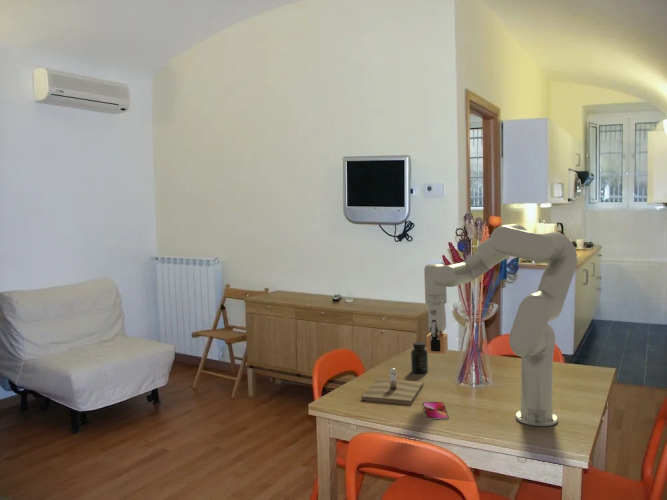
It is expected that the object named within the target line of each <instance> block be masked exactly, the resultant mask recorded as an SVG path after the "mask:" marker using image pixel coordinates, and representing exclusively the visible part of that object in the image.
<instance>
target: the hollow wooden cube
mask: <svg viewBox="0 0 667 500" xmlns="http://www.w3.org/2000/svg"><path fill="white" fill-rule="evenodd" d="M436 334H437V333H436ZM425 338H426V339H425V340H426V343H425V345H426V350H427V353H428V354H440V355H441V354H443V355H446V353H447V352H448V350H449V349H448V346H449V345H448V343H449V342H448V333H447V332H443V333H439V340H440V351H431V332H429V333H427V335H426V336H425Z"/></svg>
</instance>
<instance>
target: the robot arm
mask: <svg viewBox="0 0 667 500" xmlns="http://www.w3.org/2000/svg"><path fill="white" fill-rule="evenodd" d="M510 256H511V257H515V258H519V259H523V260H526V261H531V262H536V263H543V262H547V265H546V267H545V268H544V271H543V272H542V275H541V277H540V282H539V283H538V286H537V289H536V291H534V292H533V293H530V294H528V295H526V296H525V297H524V298H523V299H522V300H521V302H520V304H519V306H518V308H517V311H516V313H515V318H514V321H513V323H512V327H511V329H510V333H509V338H508V344H509V346H510V347H509V348H510V349H511V351H512V353H514V354H515V355H516V356H518V357H521V358H520V359H521V361H520V410H518V411H517V412H516V414H515V419H516V420H517V421H518V422H520V423H522V424H525V425H528V426H532V427H550V426H553V425H555V424H557V423H558V420H559V419H558V418H559V417H558V416H557V415H556V414H555V413H553V390H554V389H553V387H554V386H553V381H554V380H553V373H554V371H553V369H554V367H553V365H554V364H553V363H554V352H555V345H556V335H555V331H554V329H553V328H552V326H551V325H550V324H549V322H551V321H553V320H555V319H557V318H558V317H559V316H560V315H561V313H562V311H563V308H564V305H565V302H566V298H567V296H568V293H569V290H570V286H571V283H572V280H573V278H574V275H575V272H576V268H577V264H578V255H577V249H576V247H575V245H574V244H573V242H572V240H570V238H569V237H567V236H566V235H565V234H563V233H561V232H558V231H546V232H540V233H539V232H538V233H537V232H532V231H528V230H527V229H526V228H525V227H524V226H523V225H520V224H517V223H511V224H504V225H503V224H502V225H500V226H498V227H496V228H495V229H494V230H493V231H492V232H491V235H490V237H488V238H487V239H486V240H484V241H483V242H481V243H479V244H478V245H477V246H476V252H475V253H474V254H473V255H470V257H468V258H466V259H465V260H462V262H459V263H458V262H457V263H452V264H448V265H444V264H443V263H442V264H441V263H430V264H426V265H425V266H424V269H423V271H424V273H423V274H424V275H423V277H424V299H425V300H424V302H425V304H426V305H428V306H427V308H428V309H427V314H428V315H427V319H428V322H427V323H428V332H429V333H431V351H440V340H439V333H444V331H445V330H446V328H447V317H446V315H447V314H446V306H445V305H446V304H447V303H448V301H447V295H448V293H447V288H452V287H453V288H454V287H457V286H461V285H465V284H469V283H470V282H472V281H474V280H476V279H478V278H479V277H481V276H482V275H484V274H485V273H487V272H489V270H491V269H492V268H493V267H494V266H495V265H496V266H497V264H499V263H501V262H502V261H504V260H506V259H507V258H509V257H510ZM436 333H437V334H436Z"/></svg>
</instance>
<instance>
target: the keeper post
mask: <svg viewBox="0 0 667 500" xmlns="http://www.w3.org/2000/svg"><path fill="white" fill-rule="evenodd" d="M397 372H398V371H397V369H396V368H395V367H392V368H390V370H389V379H390V389H391V390H396V389H397V380H398V379H397V378H398V377H397Z"/></svg>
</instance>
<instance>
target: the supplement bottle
mask: <svg viewBox="0 0 667 500" xmlns="http://www.w3.org/2000/svg"><path fill="white" fill-rule="evenodd" d="M412 343H413V346H412V348H413V349H412V350H411V351H410V364H411V365H410V367H411V368H410V370H411V372H412V373H413V374H415V375H424V374H427V373H428V371H429V357H428V356H429V355H428V354H429V353H427V348H426V343H425V342H422V341H416V342H412Z"/></svg>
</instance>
